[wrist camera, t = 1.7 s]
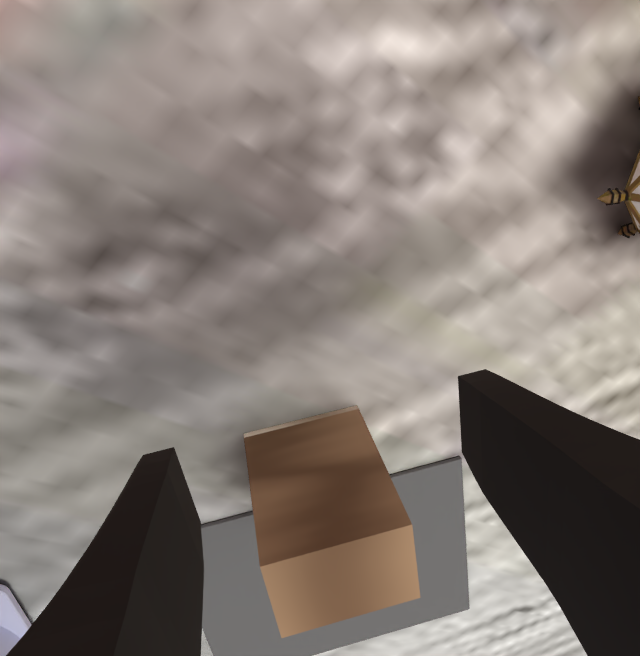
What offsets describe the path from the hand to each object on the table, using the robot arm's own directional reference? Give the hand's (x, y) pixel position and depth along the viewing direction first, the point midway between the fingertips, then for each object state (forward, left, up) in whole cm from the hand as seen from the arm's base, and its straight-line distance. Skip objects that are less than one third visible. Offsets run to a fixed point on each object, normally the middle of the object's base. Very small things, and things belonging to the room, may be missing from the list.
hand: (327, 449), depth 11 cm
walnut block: (0, -9, -10) cm, 14 cm away
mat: (0, -17, -10) cm, 20 cm away
